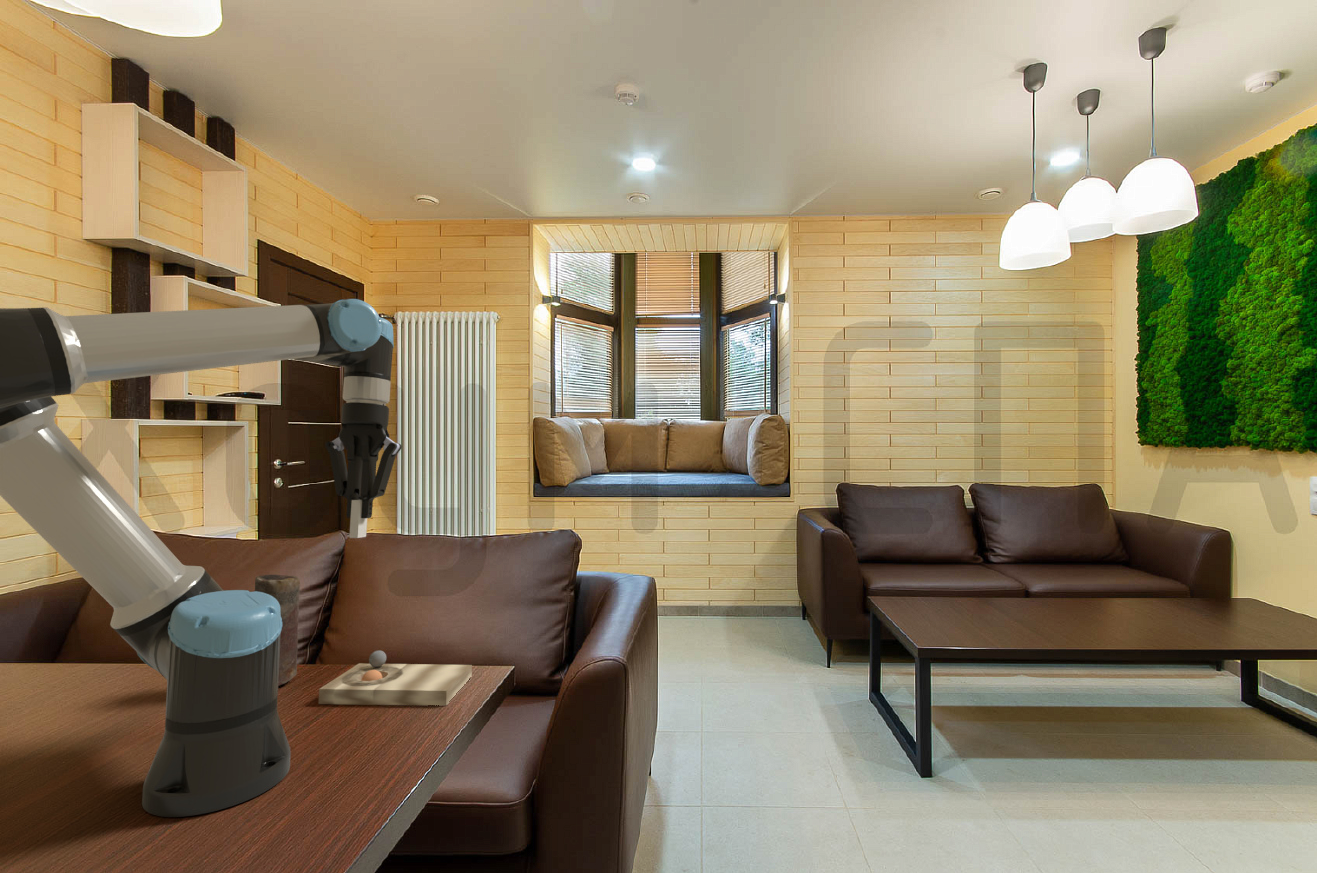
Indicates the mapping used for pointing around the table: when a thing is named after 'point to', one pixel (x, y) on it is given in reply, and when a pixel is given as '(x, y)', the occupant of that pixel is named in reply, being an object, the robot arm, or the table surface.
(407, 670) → the board
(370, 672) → the orange ball
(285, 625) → the candle
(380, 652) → the grey ball
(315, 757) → the table surface
